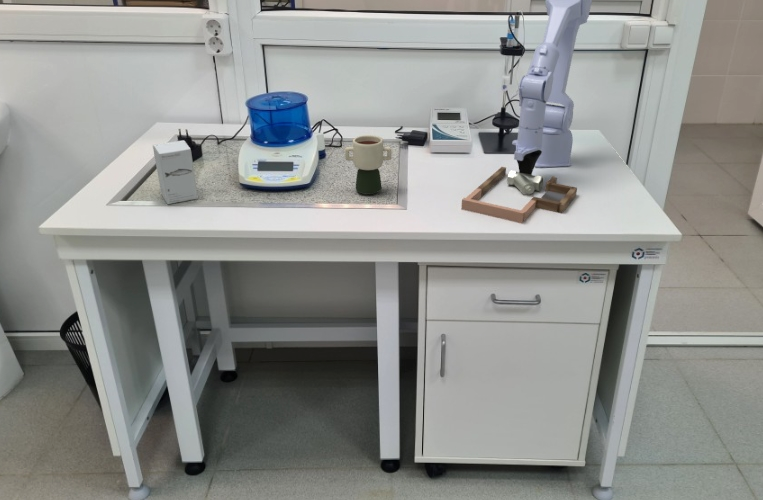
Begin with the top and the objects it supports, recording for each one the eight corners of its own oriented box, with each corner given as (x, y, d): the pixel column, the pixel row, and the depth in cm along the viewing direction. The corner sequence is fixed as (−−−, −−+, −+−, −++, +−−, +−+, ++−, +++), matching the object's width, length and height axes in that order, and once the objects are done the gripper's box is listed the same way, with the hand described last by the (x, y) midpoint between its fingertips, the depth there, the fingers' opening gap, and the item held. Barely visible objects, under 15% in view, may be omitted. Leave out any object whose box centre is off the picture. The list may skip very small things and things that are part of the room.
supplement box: (167, 205, 147) (157, 153, 141) (161, 194, 152) (151, 143, 146) (199, 199, 150) (191, 148, 144) (191, 188, 155) (184, 138, 149)
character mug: (390, 185, 157) (391, 134, 150) (391, 197, 150) (391, 145, 144) (346, 185, 157) (345, 134, 150) (345, 197, 150) (343, 145, 144)
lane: (501, 174, 163) (501, 166, 162) (580, 189, 154) (581, 182, 153) (476, 195, 151) (476, 188, 150) (560, 214, 142) (562, 206, 141)
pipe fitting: (532, 200, 150) (542, 188, 155) (534, 185, 148) (544, 173, 153) (501, 193, 154) (511, 181, 159) (502, 178, 152) (512, 167, 157)
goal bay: (476, 195, 151) (477, 186, 150) (534, 208, 144) (536, 199, 143) (461, 209, 144) (462, 199, 143) (522, 223, 138) (523, 213, 137)
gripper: (525, 115, 158) (519, 166, 165) (504, 131, 147) (499, 185, 154) (553, 119, 155) (546, 171, 161) (533, 136, 144) (527, 191, 150)
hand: (525, 179), depth 157 cm, fingers closed
